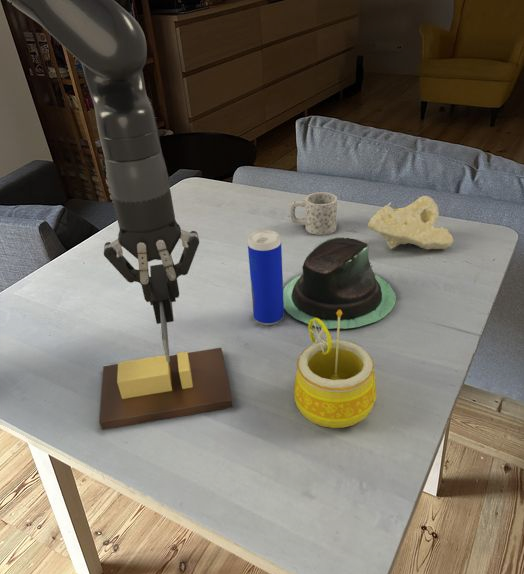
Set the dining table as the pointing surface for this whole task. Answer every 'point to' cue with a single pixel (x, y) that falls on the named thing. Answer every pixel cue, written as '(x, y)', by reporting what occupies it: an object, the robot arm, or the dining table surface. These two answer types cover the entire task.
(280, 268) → the beverage can
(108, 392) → the board
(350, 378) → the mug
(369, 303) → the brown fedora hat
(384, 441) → the dining table surface
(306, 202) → the mug
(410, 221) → the cheese
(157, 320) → the knife
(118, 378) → the butter block
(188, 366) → the butter slice
